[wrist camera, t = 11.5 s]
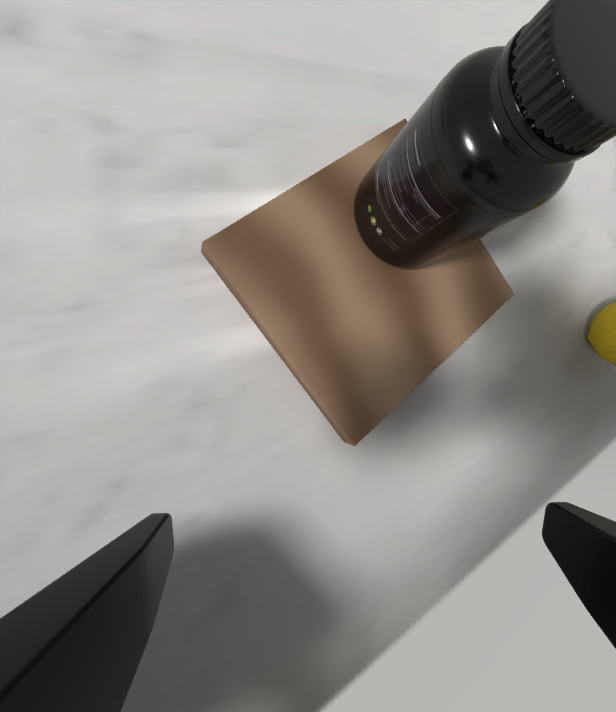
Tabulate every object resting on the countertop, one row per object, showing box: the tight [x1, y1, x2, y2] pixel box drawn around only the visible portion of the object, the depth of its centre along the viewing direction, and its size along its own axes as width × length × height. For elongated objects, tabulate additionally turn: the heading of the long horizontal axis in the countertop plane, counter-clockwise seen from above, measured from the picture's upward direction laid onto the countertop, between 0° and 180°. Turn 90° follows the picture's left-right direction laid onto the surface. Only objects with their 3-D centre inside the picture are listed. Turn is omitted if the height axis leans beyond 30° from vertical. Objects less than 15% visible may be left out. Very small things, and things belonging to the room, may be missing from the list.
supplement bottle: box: [354, 0, 616, 269], centre depth 17 cm, size 7×7×12 cm
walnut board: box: [201, 119, 514, 446], centre depth 23 cm, size 16×14×2 cm
